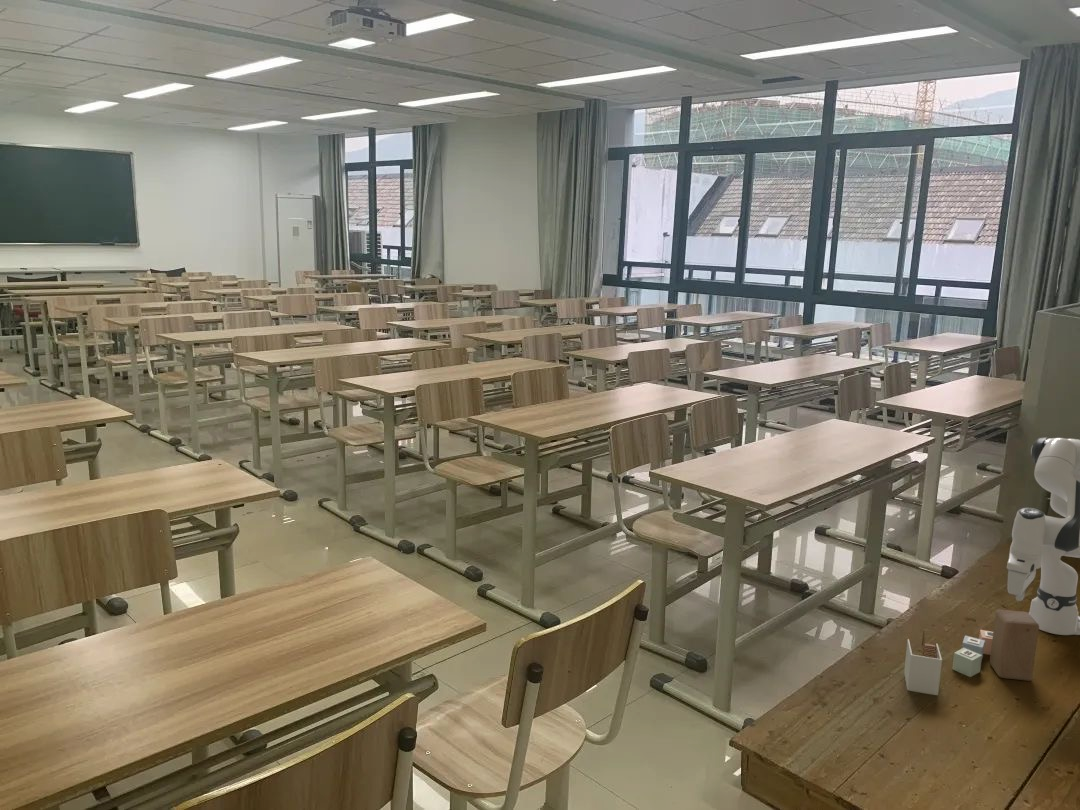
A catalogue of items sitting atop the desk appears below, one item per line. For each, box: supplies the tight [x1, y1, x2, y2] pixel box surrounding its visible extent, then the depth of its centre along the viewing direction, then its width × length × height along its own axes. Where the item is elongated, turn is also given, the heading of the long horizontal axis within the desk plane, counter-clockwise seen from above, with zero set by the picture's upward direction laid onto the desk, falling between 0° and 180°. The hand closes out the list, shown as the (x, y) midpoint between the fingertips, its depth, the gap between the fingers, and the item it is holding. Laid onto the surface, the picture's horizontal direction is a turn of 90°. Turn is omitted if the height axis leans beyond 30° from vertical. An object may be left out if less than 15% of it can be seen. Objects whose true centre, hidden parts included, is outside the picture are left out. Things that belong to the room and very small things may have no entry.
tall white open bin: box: [903, 629, 943, 696], centre depth 250 cm, size 9×11×17 cm
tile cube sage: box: [951, 647, 983, 678], centre depth 259 cm, size 6×6×6 cm
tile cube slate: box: [961, 635, 985, 662], centre depth 267 cm, size 6×6×6 cm
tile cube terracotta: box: [978, 629, 993, 656], centre depth 272 cm, size 6×6×6 cm
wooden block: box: [989, 609, 1040, 681], centre depth 257 cm, size 10×10×20 cm
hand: (1019, 599), depth 253 cm, fingers closed
